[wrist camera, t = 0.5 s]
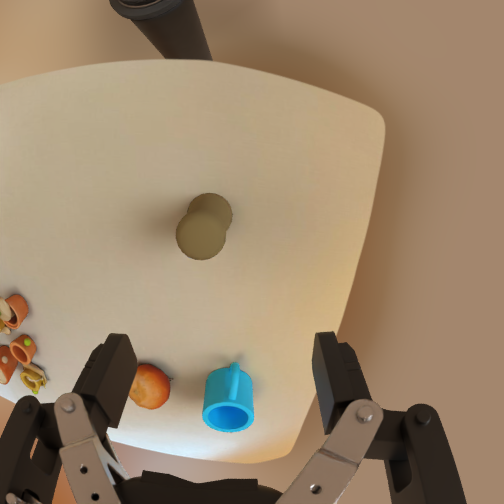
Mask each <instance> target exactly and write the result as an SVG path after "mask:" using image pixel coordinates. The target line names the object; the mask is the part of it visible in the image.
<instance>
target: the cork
mask: <svg viewBox="0 0 504 504" xmlns="http://www.w3.org/2000/svg"><path fill="white" fill-rule="evenodd" d="M231 222H232V210H231V207H230V205H229V203H228V202H227V201H226V200H225V199H224V198H223V197H222V196H219V195H217V194H213V193H206V194H202V195H200V196H198V197H196V198H195V199H194V200H193V201H192V202H191V204H190V206H189V208H188V212H187V214H186V215H185V216H184V217H183V218H182V219H181V221H180V222H179V224H178V226H177V229H176V240H177V244H178V246H179V248H180V249H181V251H182V252H183V253H184V254H185V255H187V256H188V257H190V258H192V259H195V260H206V259H210V258H212V257H214V256H215V255H217V254H218V253H219V252H220V251H221V250H222V248H223V246H224V244H225V239H226V231H227V229H228V228H229V226H230V224H231Z"/></svg>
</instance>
